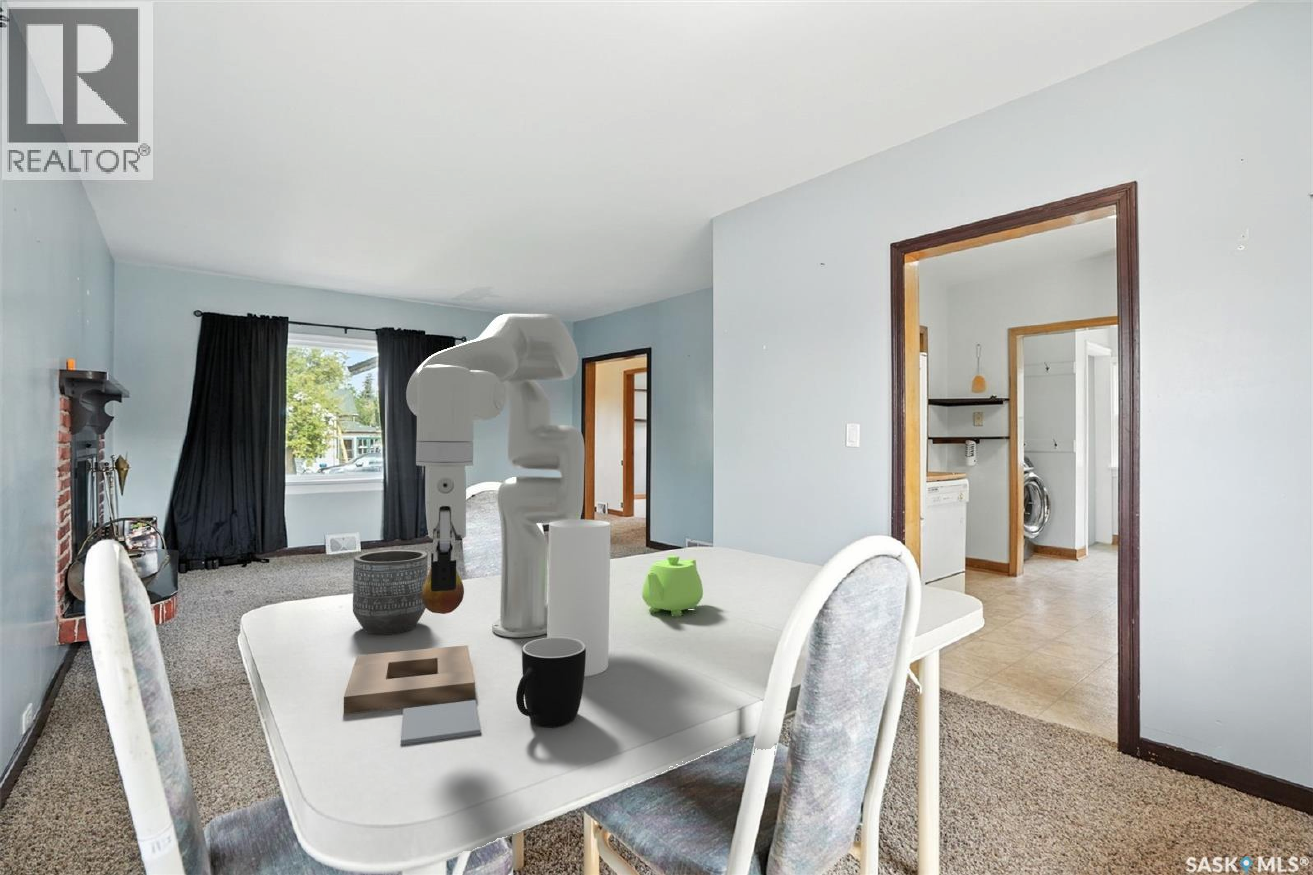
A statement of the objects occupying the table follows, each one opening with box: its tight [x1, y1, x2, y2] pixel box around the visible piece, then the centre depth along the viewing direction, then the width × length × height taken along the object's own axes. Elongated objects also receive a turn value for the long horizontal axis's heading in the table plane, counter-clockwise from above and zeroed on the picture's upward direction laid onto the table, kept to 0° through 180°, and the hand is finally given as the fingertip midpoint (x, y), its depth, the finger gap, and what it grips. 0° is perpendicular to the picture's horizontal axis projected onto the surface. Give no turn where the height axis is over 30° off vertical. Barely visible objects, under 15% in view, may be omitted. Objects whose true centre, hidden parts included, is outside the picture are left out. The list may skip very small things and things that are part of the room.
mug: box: [515, 637, 586, 728], centre depth 89 cm, size 12×9×10 cm
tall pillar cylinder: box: [546, 518, 612, 678], centre depth 111 cm, size 11×11×25 cm
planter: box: [352, 549, 429, 636], centre depth 131 cm, size 14×14×15 cm
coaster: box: [400, 699, 482, 746], centre depth 88 cm, size 10×10×1 cm
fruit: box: [422, 531, 465, 615], centre depth 88 cm, size 6×6×12 cm
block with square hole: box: [343, 644, 476, 715], centre depth 102 cm, size 18×18×2 cm
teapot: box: [641, 555, 704, 617], centre depth 148 cm, size 20×13×13 cm
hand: (442, 583), depth 88 cm, fingers closed on fruit, 5 cm apart
